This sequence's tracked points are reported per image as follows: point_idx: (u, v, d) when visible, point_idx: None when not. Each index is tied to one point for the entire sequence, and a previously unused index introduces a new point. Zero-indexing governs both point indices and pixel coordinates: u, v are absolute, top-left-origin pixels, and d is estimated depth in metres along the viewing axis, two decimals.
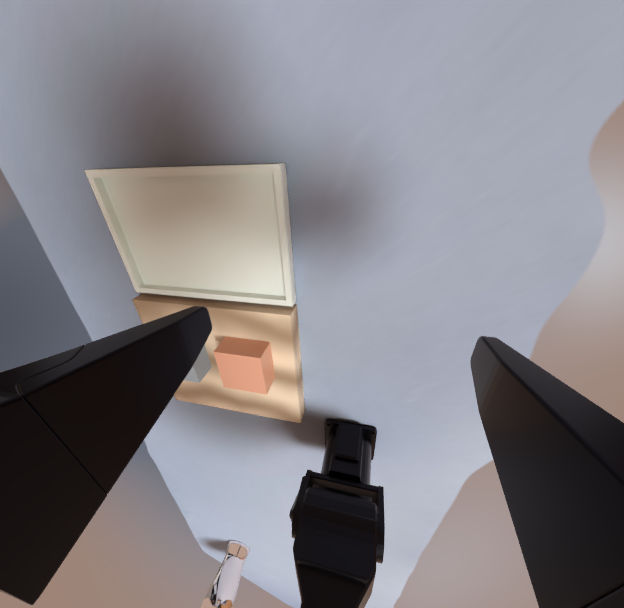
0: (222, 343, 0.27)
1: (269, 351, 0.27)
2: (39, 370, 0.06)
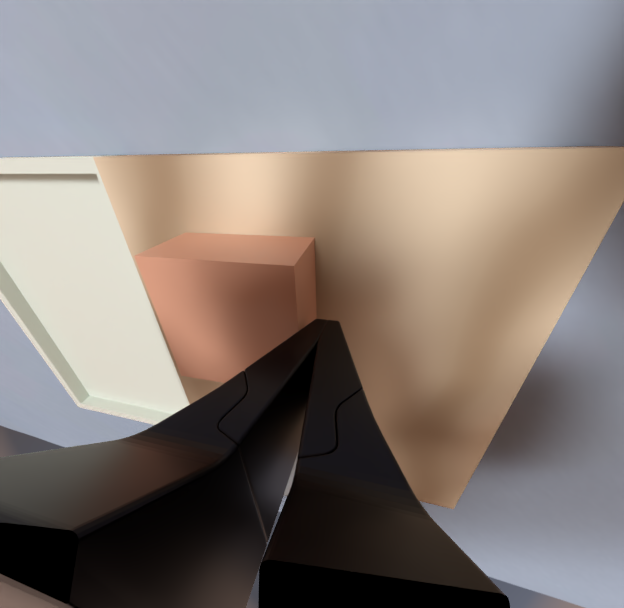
0: None
1: (199, 236, 0.09)
2: (225, 406, 0.05)
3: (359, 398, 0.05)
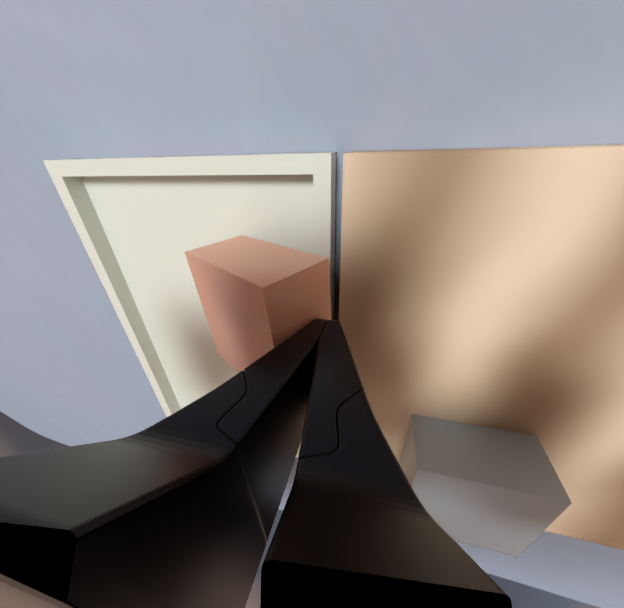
0: None
1: (244, 241, 0.11)
2: (224, 406, 0.05)
3: (360, 398, 0.05)
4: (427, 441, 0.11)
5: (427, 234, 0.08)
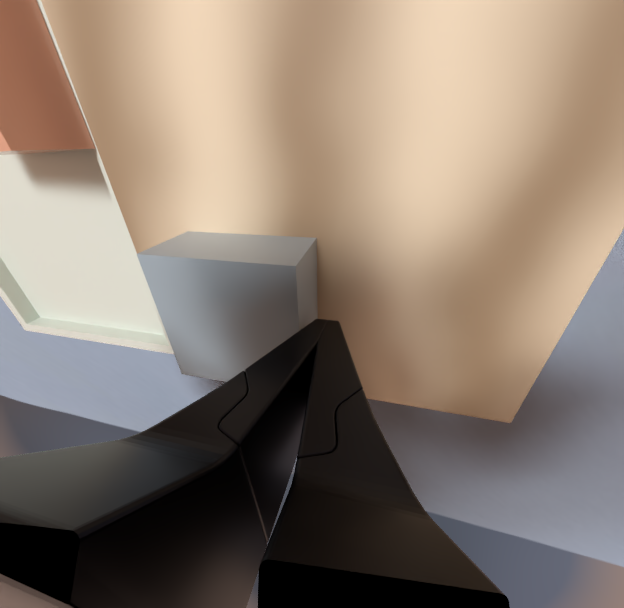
0: None
1: None
2: (225, 406, 0.05)
3: (359, 398, 0.05)
4: (178, 242, 0.09)
5: None
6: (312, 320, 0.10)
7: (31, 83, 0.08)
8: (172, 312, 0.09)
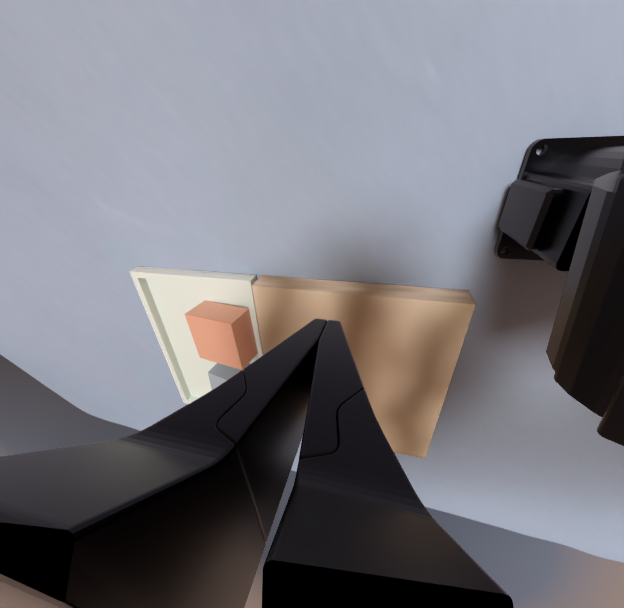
0: None
1: (208, 304, 0.24)
2: (224, 406, 0.05)
3: (360, 398, 0.05)
4: (220, 365, 0.27)
5: (286, 312, 0.21)
6: None
7: (247, 345, 0.24)
8: (215, 387, 0.27)
